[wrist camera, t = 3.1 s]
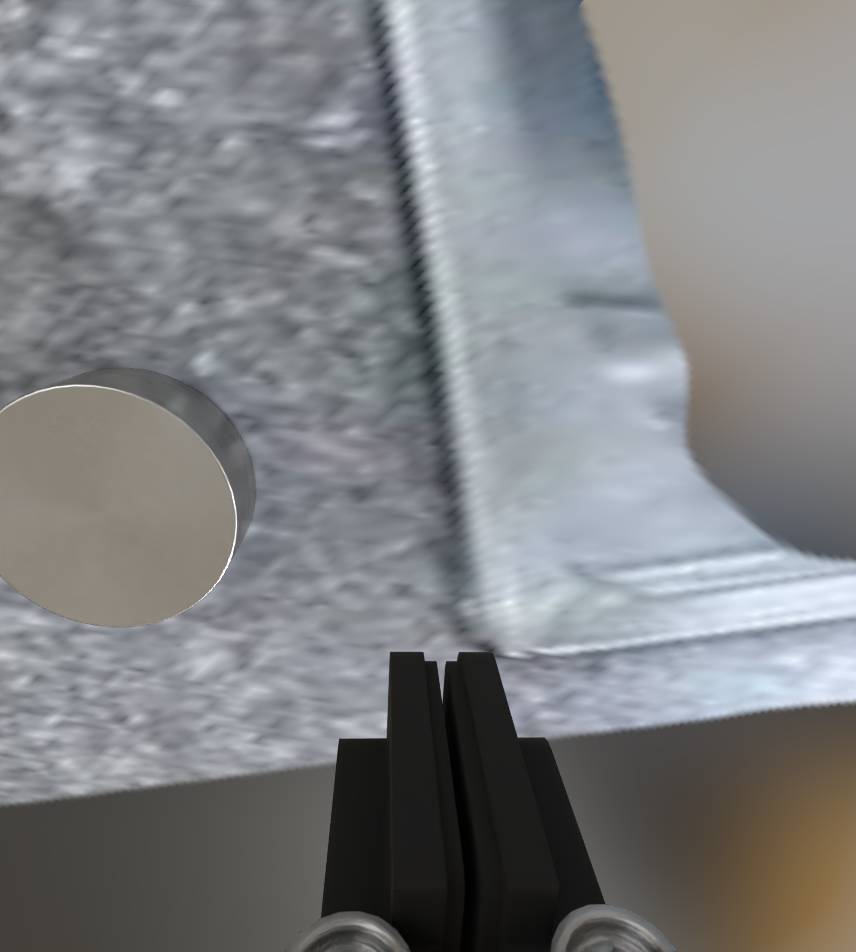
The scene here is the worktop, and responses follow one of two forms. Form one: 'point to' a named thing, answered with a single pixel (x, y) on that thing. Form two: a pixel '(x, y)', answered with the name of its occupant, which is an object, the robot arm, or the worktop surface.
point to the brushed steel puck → (120, 496)
